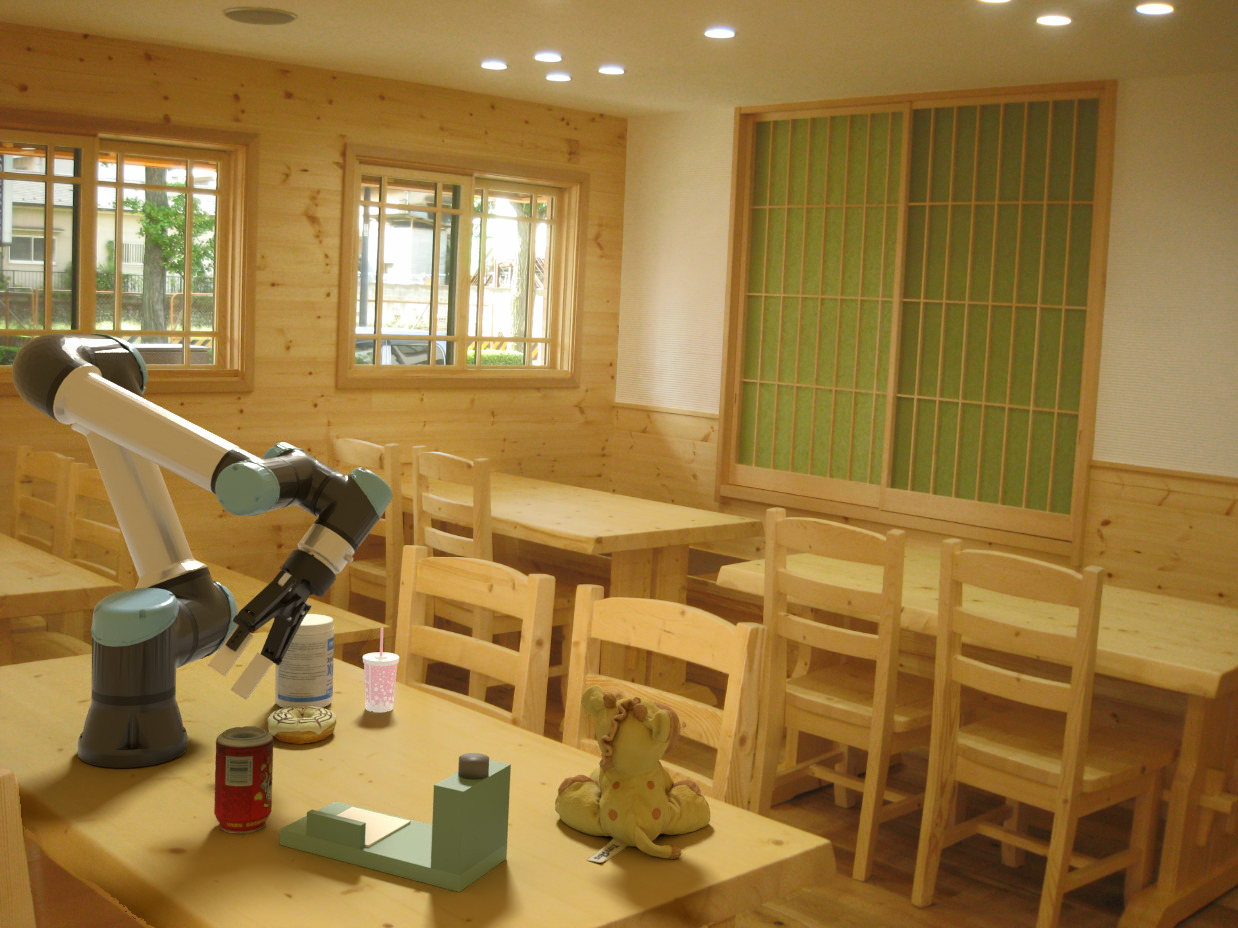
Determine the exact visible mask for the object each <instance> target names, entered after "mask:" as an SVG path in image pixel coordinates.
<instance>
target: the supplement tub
mask: <svg viewBox="0 0 1238 928" xmlns="http://www.w3.org/2000/svg"><path fill="white" fill-rule="evenodd" d="M334 643H335V626H334V618H333V617H331V616H329V615H324V614H318V613H317V614H315V613H307V615H306V616H305V618H304V619H303V621H302V623H301V625H300V627H299V629H298V630H297V632H296V634H295V636H294V638H293V640H292V642H291V644H290V646H289V648H288V650H287V651H286V653H285V655H284V657H283V659H282V663H281V664H280V665H279V666H278V665H276V664H275V682H274V683H275V687H274V689H275V690H274V692H275V693H274V694H275V698H274V700H275V703H276V705H277V706H279V707H280V708H281V709H282V708H285V707H289V706H316V707H321V708H325V707H327V706H329V705H330V704H331V703H332V701H333V696H334V695H333V694H334V691H333V690H334V689H333V688H334V650H335V649H334V648H335V647H334V646H335V644H334Z"/></svg>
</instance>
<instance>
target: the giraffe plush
mask: <svg viewBox="0 0 1238 928" xmlns="http://www.w3.org/2000/svg"><path fill="white" fill-rule="evenodd" d="M580 703H581V707H582V708H583V710H584V712H585V713H587V714H588V715H590V716H592V717H595V718H596V719H595V725H594V728H595V738H596V740H597V745H598V747H599V749H600V751H601V759H600V760H599V763H598V765H599V766H598V767H596V768H595V769H593V771H592V772H591V773H590V774H589V776H587V775H584V774H577V775H575V776H573V777H571V776H569V777H565V779H564V780H563V781H562V782H561V784H560V785H559V787H558V789H557V793H558V794H557V796H556V799H555V801H554V803H555V804H554V805H555V806H554V810H555V813H557V814H558V816H559V819H560V820H561V821H562V822H563V823H564V824H565V825H567V826H569V828H572V829H574V830H576V831H578V832H581V833H584V834H587V835H589V836H594V837H595V836H596V837H598V836H599V837H612V839H611V840H610V841H609V842H608V843H607V844H605V845H604V846H602V848H600V849H599V850H598V851H597V852H595V853H594V854H592V855H591V856H589V857H587V858H586V862H593V863H597V864H602V863H604V862H606V861H610V859H612V858H613V857H615V856H616V855H618V854H619V853H621V852H622V851H624V850H625V849H626V848H627V847H637V849H638V850H640V851H641V852H643V853H645V854H647V855H649V856H651V857H652V856H653V857H656V858H661V859H669V860H675V859H679V857H681V856H682V853H683V852H682V849H681V847H679V846H676V845H673V844H663V845H659V844H658V845H657V844H655V843H654V841H655V840H656V838H657V837H658V836H659V835H662V834H663V835H669V836H674V835H675V836H676V835H684V834H688V833H693V832H696V831H697V830H700V829H702V828H705V827H707V826H708V825H709V824H710V821H711V808H710V805H709V803H708V801H707V799H706V797H705V796H704V795H703V794H702V793H701V789H700V786H699V784H697V783H696V781H693V780H691V779H685V780H679V781H677V782H675V781H674V779H673V778H672V776H671V775H670V773H669V771H668V770H667V769H666V767H664V766H663V765H662V763H661V761H660V760H661V759H662V757H663V756H664V754H666V753H669V752H670V751H673V750H674V749H675V747H677V744H678V743H679V740H680V736H681V732H682V731H681V722H680V718H679V716H678V713H677V712H676V711H675V710H674V709H673V708H672V707H671V706H670V705H668V704H665V703H661V702H657V701H652V700H651V699H649V698H647V697H643V696H629V697H623V698H621V699H618V700H617V697H616V696H615V694H613V693H611V692H609V691H607V692H606V691H605V690H604V689H603V688H602V687H601V686H600V685H598V684H594V685H590V686H589V687H588V688H587V689H586V690H584V691H583V694H582V695H581V700H580Z"/></svg>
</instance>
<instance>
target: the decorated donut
mask: <svg viewBox="0 0 1238 928" xmlns="http://www.w3.org/2000/svg"><path fill="white" fill-rule="evenodd" d="M266 722H267V729H268V732H269V733H271V735H272V736H273V738H274V737H275V738H276V739H277V740H278V741H280V742H281V741H282V742H283V743H288V744H295V745H305V744H304V743H307V744H311V742H312V743H317V742H319V741H324V740H325V739H327V738H328V737H330V736H331V735H332V734H333V733H334V731H335V729H336V725H337V716H336V713H335V712H334V711H332V710H330V709H328V708H325V707H323V708H321V707H316V706H289V707H285V708H282V707H281V708H279V709H277V710H274V711H273V712H271V713H270V715H269V716H268V718H267V719H266Z"/></svg>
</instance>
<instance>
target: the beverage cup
mask: <svg viewBox="0 0 1238 928" xmlns="http://www.w3.org/2000/svg"><path fill="white" fill-rule="evenodd" d="M379 635H380V636H379V637H380V639H379V652H370V653H365V654H363V656H362V663H363V664H364V665H363V669H364V670H363V671H364V672H363V673H364V699H365V700H364V701H365V702H364V703H365V709H366V711H368V712H371V711H373V712H372V713H386V712H387V711H388V712H390V711H393V709H394V701H395V691H396V681H397V673H398V671H397V670H398V664H399V662H400V656H399V655H398V654H396V653H393V652H384V627H380V634H379ZM388 712H387V713H388Z"/></svg>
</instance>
